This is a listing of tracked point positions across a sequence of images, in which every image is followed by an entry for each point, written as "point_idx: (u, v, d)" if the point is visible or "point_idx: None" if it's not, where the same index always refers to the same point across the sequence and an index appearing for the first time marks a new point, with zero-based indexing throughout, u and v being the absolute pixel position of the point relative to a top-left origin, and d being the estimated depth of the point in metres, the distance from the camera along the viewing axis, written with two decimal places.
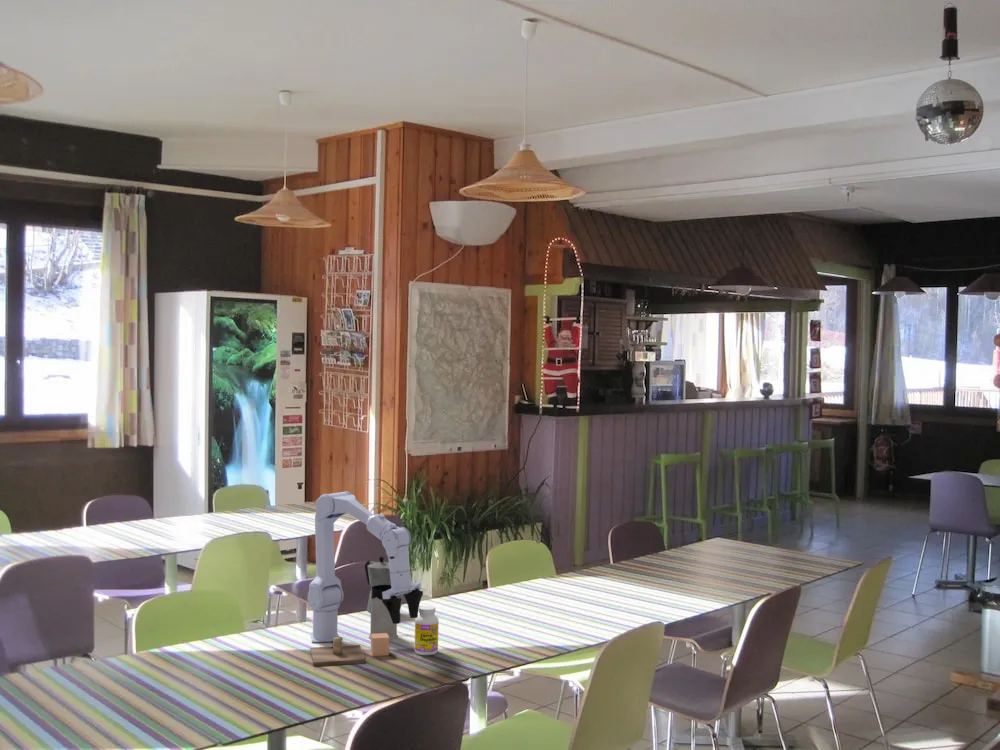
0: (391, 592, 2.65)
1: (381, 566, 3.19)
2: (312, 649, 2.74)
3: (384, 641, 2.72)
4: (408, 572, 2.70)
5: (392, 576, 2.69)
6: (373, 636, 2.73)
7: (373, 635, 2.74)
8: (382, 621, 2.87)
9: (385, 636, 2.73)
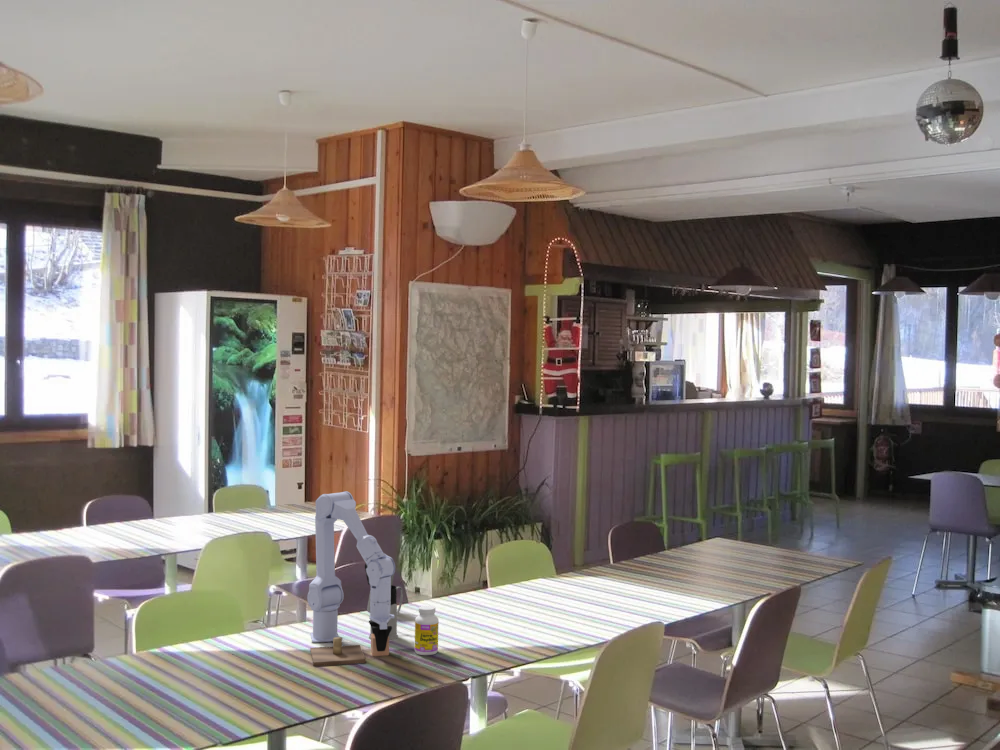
0: (387, 622, 2.69)
1: None
2: (312, 649, 2.74)
3: None
4: None
5: (379, 606, 2.71)
6: (373, 636, 2.73)
7: (373, 635, 2.74)
8: None
9: None
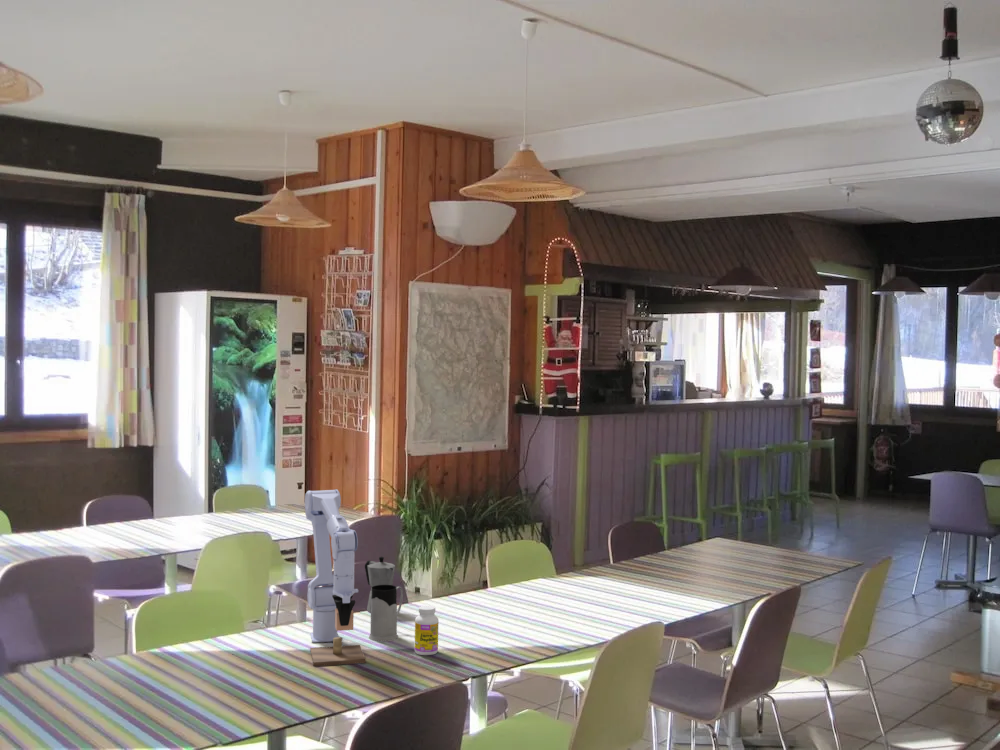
0: (350, 596, 2.65)
1: (381, 566, 3.19)
2: (312, 649, 2.74)
3: None
4: None
5: (343, 579, 2.68)
6: (337, 611, 2.70)
7: (337, 610, 2.71)
8: (382, 621, 2.87)
9: None
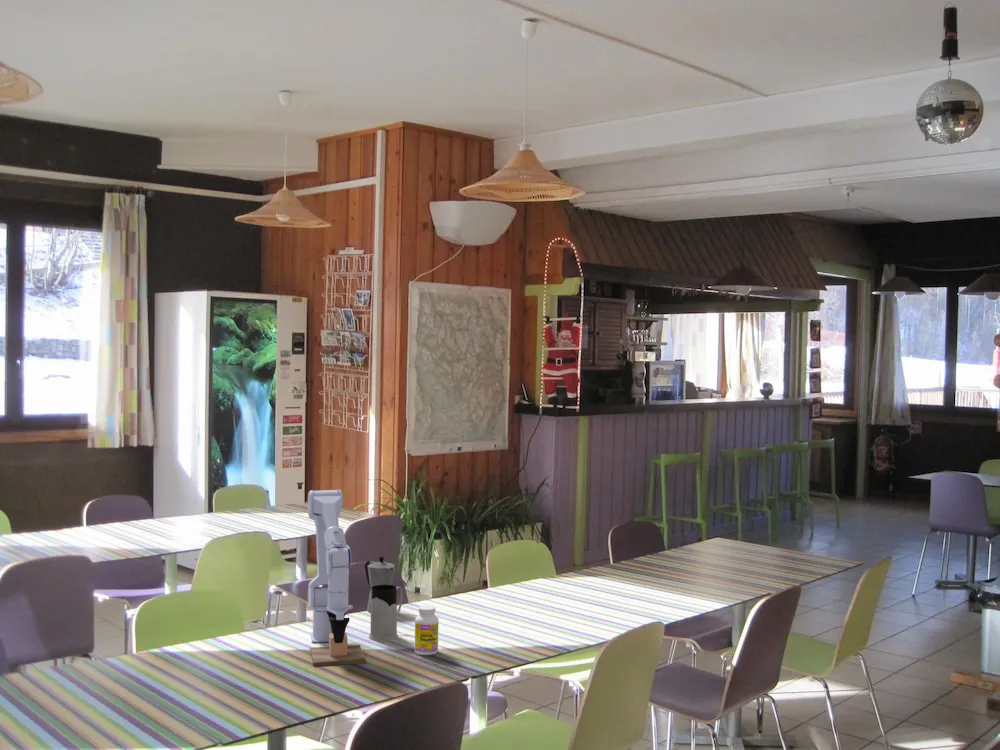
0: (344, 612, 2.65)
1: (381, 566, 3.19)
2: (312, 649, 2.74)
3: None
4: None
5: (337, 596, 2.67)
6: (331, 636, 2.69)
7: (331, 635, 2.70)
8: (382, 621, 2.87)
9: None
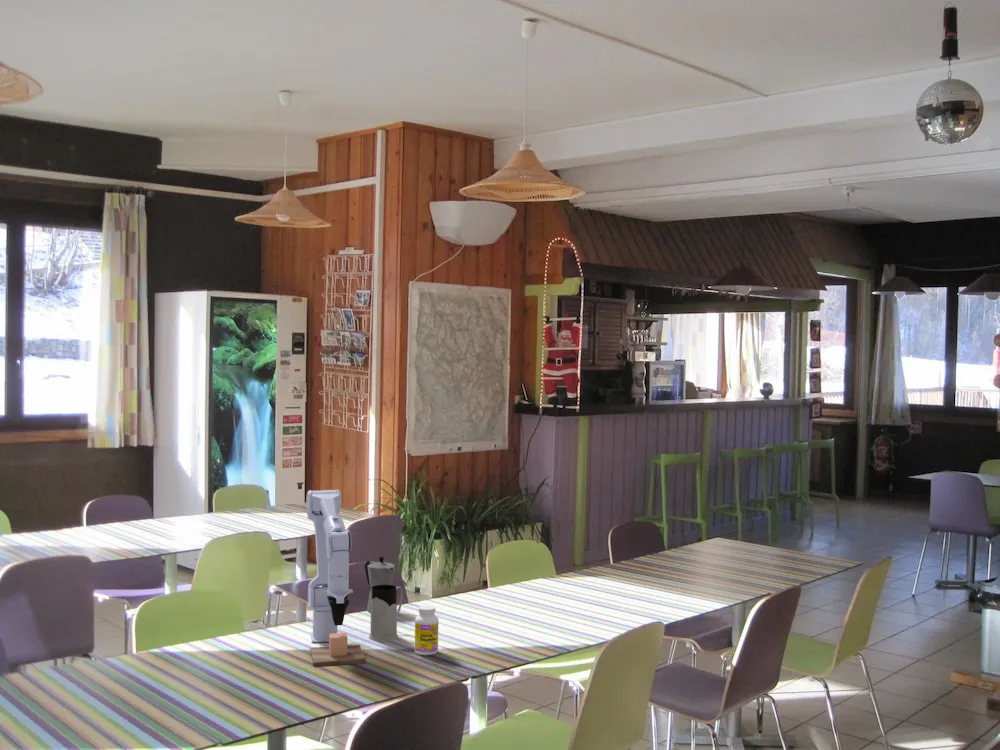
0: (344, 596, 2.65)
1: (381, 566, 3.19)
2: (312, 649, 2.74)
3: (342, 641, 2.68)
4: None
5: (337, 580, 2.67)
6: (331, 636, 2.69)
7: (331, 635, 2.70)
8: (382, 621, 2.87)
9: (343, 636, 2.69)
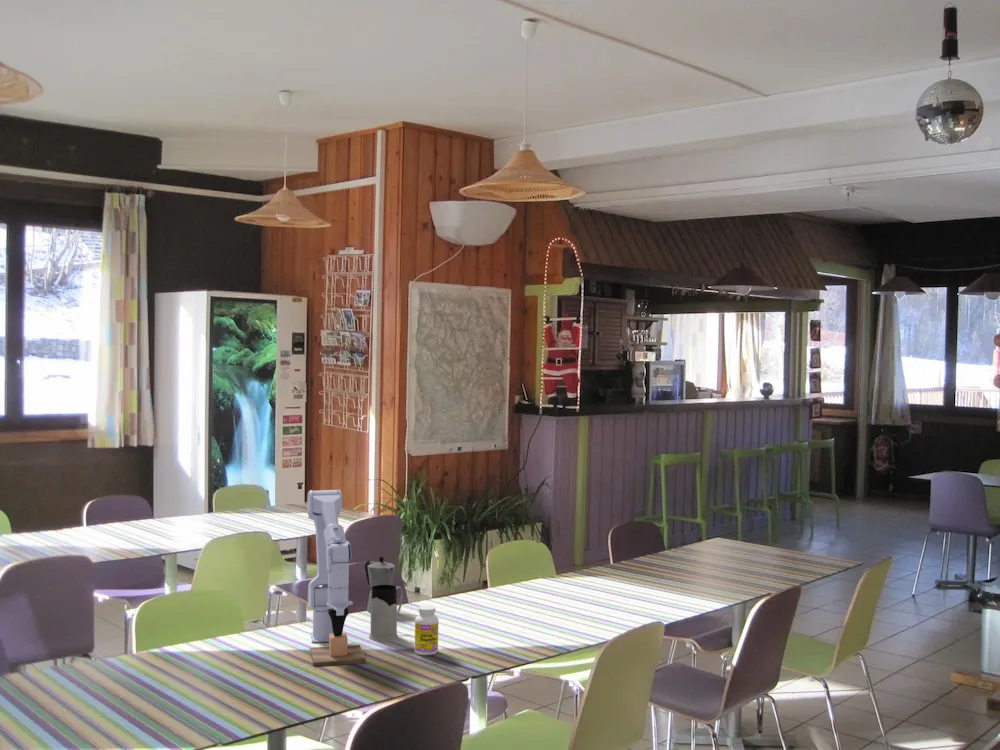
0: (344, 608, 2.65)
1: (381, 566, 3.19)
2: (312, 649, 2.74)
3: (342, 641, 2.68)
4: None
5: (337, 592, 2.67)
6: (331, 636, 2.69)
7: (331, 635, 2.70)
8: (382, 621, 2.87)
9: (343, 636, 2.69)
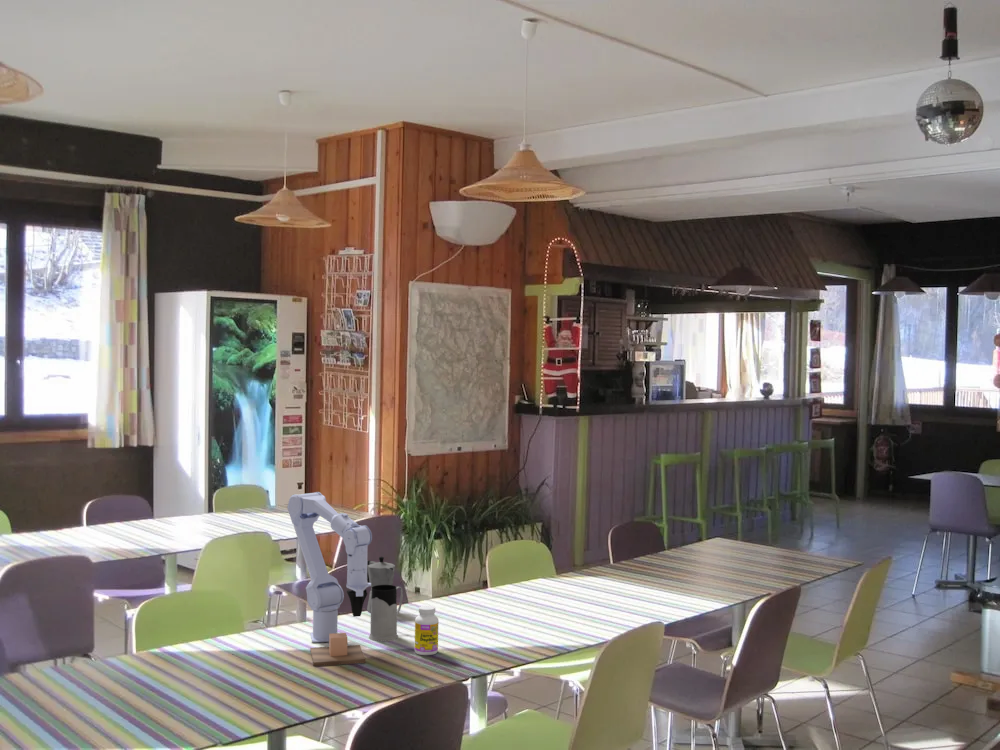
0: (363, 589, 2.73)
1: (381, 566, 3.19)
2: (312, 649, 2.74)
3: (342, 641, 2.68)
4: None
5: (356, 573, 2.75)
6: (331, 636, 2.69)
7: (331, 635, 2.70)
8: (382, 621, 2.87)
9: (343, 636, 2.69)
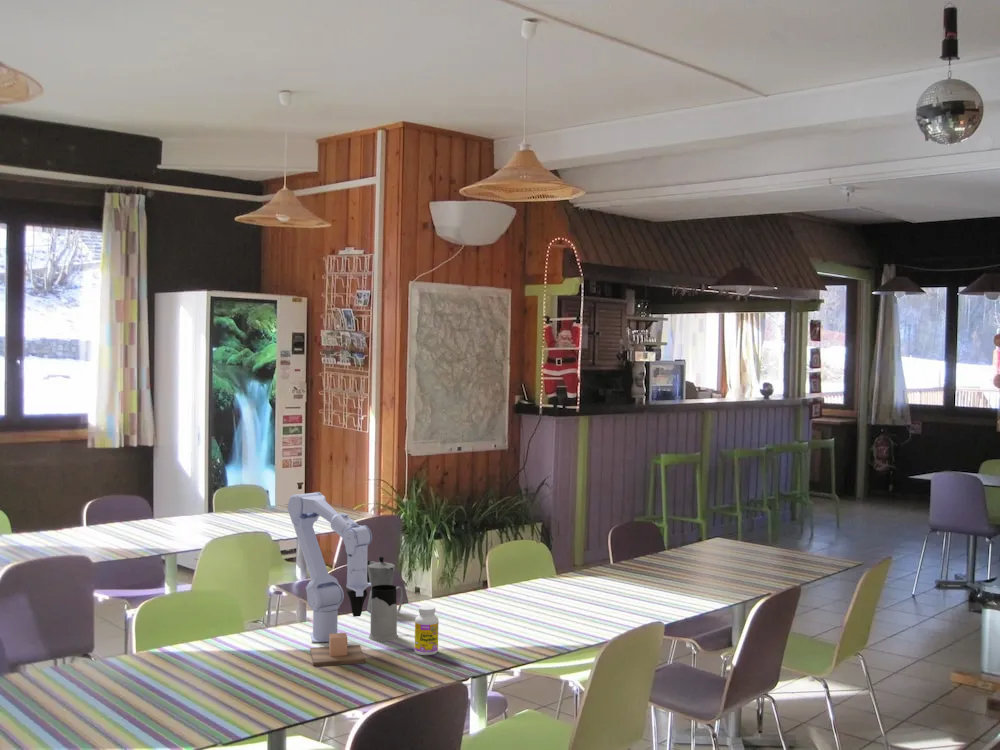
0: (363, 589, 2.73)
1: (381, 566, 3.19)
2: (312, 649, 2.74)
3: (342, 641, 2.68)
4: None
5: (356, 573, 2.75)
6: (331, 636, 2.69)
7: (331, 635, 2.70)
8: (382, 621, 2.87)
9: (343, 636, 2.69)
